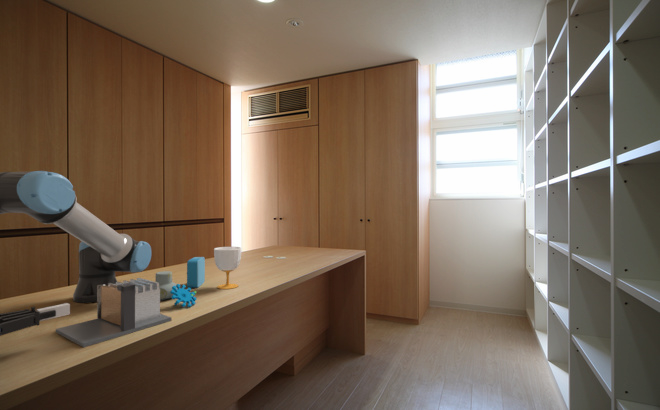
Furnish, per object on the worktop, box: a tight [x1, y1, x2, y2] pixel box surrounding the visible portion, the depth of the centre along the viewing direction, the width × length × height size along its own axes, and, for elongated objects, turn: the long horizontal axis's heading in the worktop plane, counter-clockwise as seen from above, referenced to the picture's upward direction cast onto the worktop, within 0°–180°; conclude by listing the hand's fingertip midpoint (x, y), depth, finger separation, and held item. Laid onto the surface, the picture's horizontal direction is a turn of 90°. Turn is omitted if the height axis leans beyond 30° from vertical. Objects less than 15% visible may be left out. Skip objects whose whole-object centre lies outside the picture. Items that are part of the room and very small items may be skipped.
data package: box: [186, 256, 206, 289], centre depth 153 cm, size 12×4×12 cm, turn 6°
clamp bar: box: [96, 284, 121, 326], centre depth 102 cm, size 15×2×10 cm, turn 58°
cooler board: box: [55, 283, 172, 348], centre depth 102 cm, size 18×24×14 cm
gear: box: [170, 283, 197, 308], centre depth 123 cm, size 11×6×10 cm
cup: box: [213, 246, 242, 290], centre depth 151 cm, size 12×12×17 cm
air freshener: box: [154, 270, 178, 301], centre depth 132 cm, size 11×8×10 cm
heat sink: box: [108, 277, 161, 324], centre depth 106 cm, size 12×10×11 cm
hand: (68, 308), depth 91 cm, fingers closed
